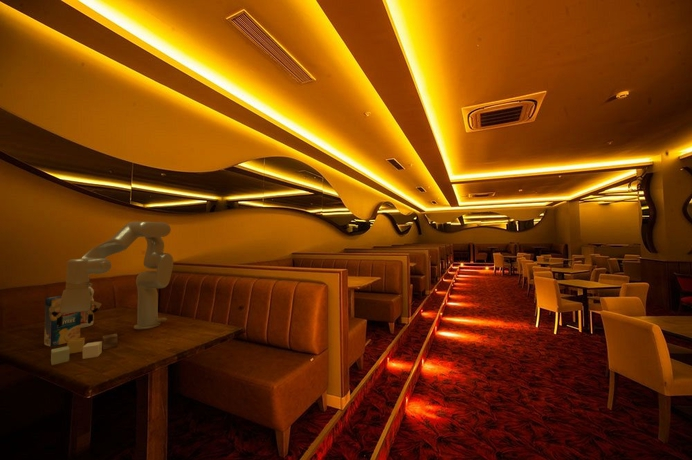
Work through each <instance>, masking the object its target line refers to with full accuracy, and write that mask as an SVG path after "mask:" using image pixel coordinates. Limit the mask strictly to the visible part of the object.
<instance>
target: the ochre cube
mask: <svg viewBox="0 0 692 460" xmlns="http://www.w3.org/2000/svg"><path fill="white" fill-rule="evenodd" d="M85 345H86V337H80V338H76V339H70V340H69V341H68V342H67V343H66V346H68V347H69V349H70V351H69V355H71V354H75V353H83V347H84V346H85Z"/></svg>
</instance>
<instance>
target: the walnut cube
mask: <svg viewBox="0 0 692 460" xmlns="http://www.w3.org/2000/svg"><path fill="white" fill-rule="evenodd" d="M118 343H119V342H118V334H117V333H113V334H112V333H111V334H106V335H103V336H102V350H107V349H113V348H116V347H118Z"/></svg>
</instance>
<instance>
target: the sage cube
mask: <svg viewBox="0 0 692 460" xmlns="http://www.w3.org/2000/svg"><path fill="white" fill-rule="evenodd" d="M69 351H70V349H69V347H68V346H67V345H66V346H62V347H58V348H52V349H51V350H50V363H51V366H54V365H57V364H58V365H59V364H62V363H66V362H70V354H69Z"/></svg>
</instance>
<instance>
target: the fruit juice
mask: <svg viewBox="0 0 692 460" xmlns="http://www.w3.org/2000/svg"><path fill="white" fill-rule="evenodd" d="M90 278H91V277H89V281H88V282H90ZM88 288H91V293H92V301H95V299H94V293H95V289H93V288H94V287H92V286H89V287H88ZM91 309H92V310H94V309H95V305H93V304H92V307H91ZM88 315H89V313H88V312H87V311H81V327H80V329H83V328H87V327H92V326H93V325H94V323H95V322H94V321H95V313H93V321H91V323H90V324H88Z"/></svg>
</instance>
